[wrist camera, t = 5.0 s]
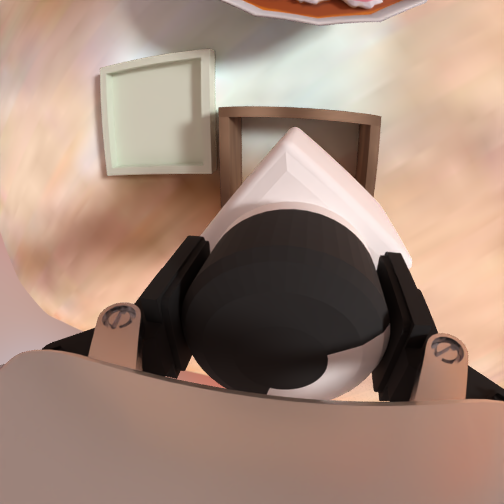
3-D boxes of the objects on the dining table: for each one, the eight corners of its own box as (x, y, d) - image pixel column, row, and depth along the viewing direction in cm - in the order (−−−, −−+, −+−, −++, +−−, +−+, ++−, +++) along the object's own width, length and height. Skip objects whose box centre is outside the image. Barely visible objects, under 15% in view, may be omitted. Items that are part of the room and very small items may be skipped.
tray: (215, 51, 24) (209, 48, 22) (217, 169, 30) (211, 173, 28) (109, 68, 26) (100, 68, 24) (116, 171, 31) (107, 175, 30)
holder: (368, 114, 25) (381, 116, 20) (355, 238, 30) (363, 261, 26) (233, 106, 26) (218, 107, 22) (234, 229, 32) (223, 250, 28)
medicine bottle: (219, 211, 19) (119, 345, 9) (294, 123, 16) (263, 163, 5) (303, 280, 20) (285, 445, 10) (383, 206, 17) (458, 353, 7)
